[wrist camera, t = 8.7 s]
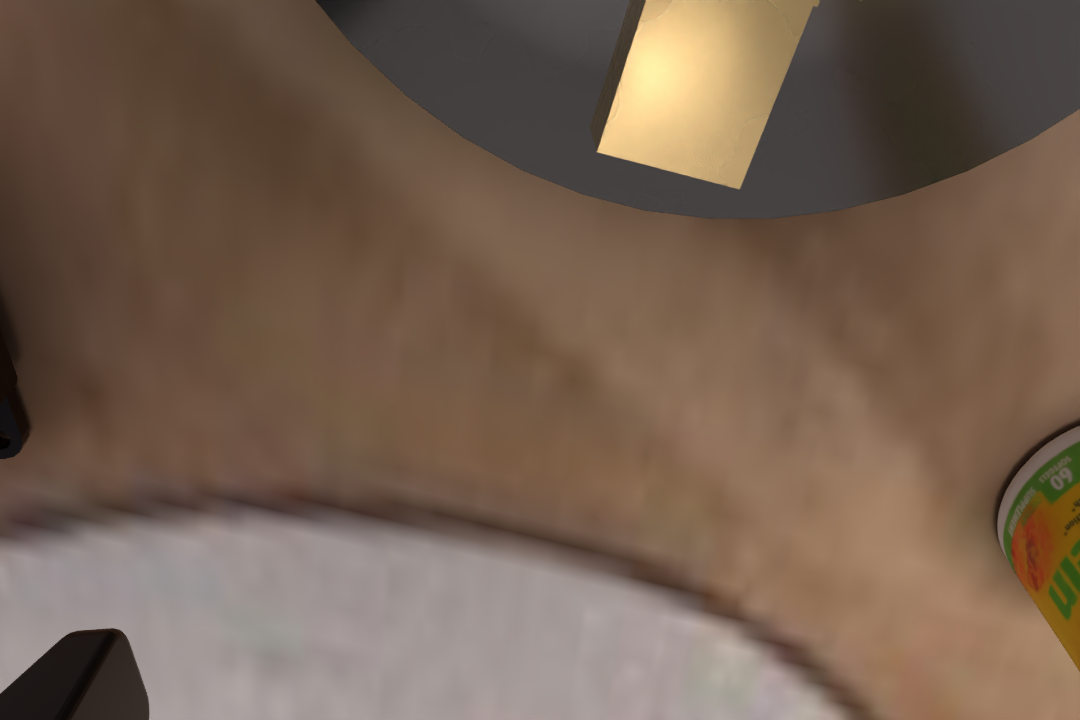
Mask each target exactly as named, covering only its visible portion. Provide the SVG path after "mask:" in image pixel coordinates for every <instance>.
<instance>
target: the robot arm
mask: <svg viewBox="0 0 1080 720" xmlns="http://www.w3.org/2000/svg"><path fill="white" fill-rule="evenodd" d="M16 382H17V375H16V372H15V369H14V367H13V364H12V361H11V358H10V355H9V353H8V350H7V347H6V344H5V341H4V339H3V336H2V333H1V330H0V431H2V432H4V433H6V434H7V435H8V436H9V438H10V439H6V438H2V437H0V459H6V458H10V457H14V456H15V455H16V454H18V453H19V452H20V451H21V449H22V448H23V446H24V445H25V443H26V442H27V440H28V437H29V427H28V424H27V422H26V419H25V416H24V413H23V411H22V408H21V405H20V402H19V400H18V397H17V394H16V391H15V388H14V385H15V384H16ZM0 720H149V701H148V696H147V692H146V689H145V686H144V684H143V681H142V678H141V675H140V672H139V669H138V666H137V663H136V660H135V657H134V655H133V652H132V649H131V646H130V643H129V641H128V639H127V637H126V635H125V634H124V633H123V632H122V631H121V630H118V629H114V628H111V629H97V630H83V631H75V632H72V633H70V634H68V635H66V636H65V637H63V638H62V639H61V640H60V641H58V642H57V643H56V644H55V645H54V646H53V647H52V648H51V649H50V650H48V651H47V652H46V653H45V654H44V655H43V656H42V657H41V658H40V659H38V660H37V661H36V662H35V663H34V664H33V665H32V666H31V667H30V668H28V669H27V670H26V671H25V672H24V673H23V674H22V675H21V676H20V677H18V678H17V679H16V680H15V681H14V682H13V683H12V684H11V685H10V686H8V687H7V688H6V689H5V690H4V691H3V692H2V693H1V694H0Z"/></svg>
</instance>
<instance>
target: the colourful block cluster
mask: <svg viewBox="0 0 1080 720" xmlns="http://www.w3.org/2000/svg"><path fill="white" fill-rule="evenodd" d="M860 1H862V0H860ZM819 2H820V0H630V2H629V5H628V8H627V11H626V15H625V18H624V21H623V24H622V27H621V30H620V34H619V37H618V40H617V43H616V46H615V49H614V53H613V56H612V59H611V62H610V65H609V69H608V72H607V75H606V78H605V81H604V84H603V88H602V91H601V94H600V97H599V100H598V103H597V107H596V110H595V113H594V116H593V119H592V122H591V126H590V130H591V134H592V137H593V140H594V144H595V147H596V151H597V152H598V153H602V154H606V155H610V156H614V157H617V158H621V159H625V160H629V161H633V162H637V163H640V164H644V165H648V166H652V167H656V168H660V169H663V170H667V171H671V172H675V173H679V174H683V175H686V176H690V177H694V178H698V179H702V180H706V181H709V182H713V183H717V184H721V185H725V186H729V187H732V188H736V189H740V187H741V185H742V182H743V180H744V177H745V175H746V172H747V170H748V167H749V165H750V162H751V160H752V157H753V155H754V152H755V150H756V147H757V145H758V142H759V140H760V137H761V135H762V132H763V130H764V127H765V125H766V122H767V120H768V117H769V115H770V112H771V110H772V107H773V105H774V102H775V100H776V97H777V95H778V93H779V90H780V88H781V85H782V83H783V80H784V78H785V75H786V73H787V70H788V68H789V65H790V63H791V60H792V58H793V55H794V53H795V50H796V48H797V45H798V43H799V40H800V38H801V35H802V33H803V30H804V28H805V25H806V23H807V20H808V18H809V15H810V13H811V10H812V8H813V6H816V7H818V4H819Z"/></svg>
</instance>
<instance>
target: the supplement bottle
mask: <svg viewBox="0 0 1080 720" xmlns="http://www.w3.org/2000/svg"><path fill="white" fill-rule="evenodd" d="M997 530H998V538H999V541H1000V545H1001V548H1002V550H1003V553H1004V554H1005V556H1006V558H1007V560H1008V561H1009V563H1010V565H1011V566H1012V568H1013V570H1014V572H1015V573H1016V575H1017V576H1018V578H1019V579H1020V581H1021V582H1022V584H1023V585H1024V587H1025V588H1026V590H1027V591H1028V593H1029V595H1030V596H1031V598H1032V599H1033V601H1034V602H1035V604H1036V605H1037V607H1038V608H1039V610H1040V611H1041V613H1042V615H1043V616H1044V618H1045V619H1046V621H1047V622H1048V624H1049V625H1050V627H1051V628H1052V630H1053V631H1054V633H1055V634H1056V636H1057V638H1058V639H1059V641H1060V642H1061V644H1062V645H1063V647H1064V648H1065V650H1066V651H1067V653H1068V654H1069V656H1070V657H1071V659H1072V660H1073V662H1074V664H1075V665H1076V667H1077V668H1078V670H1079V671H1080V426H1078V427H1075V428H1073V429H1071V430H1069V431H1067V432H1065V433H1063V434H1061V435H1060V436H1058V437H1056V438H1055V439H1053V440H1052V441H1050V442H1049V443H1047V444H1046V445H1045V446H1043V447H1042V448H1041V449H1040V450H1039V451H1037V452H1036V453H1035V454H1034V455H1033V456H1032V457H1031V458H1030V459H1029V460H1028V461H1027V462H1026V463H1025V464H1024V465H1023V467H1022V468H1021V469H1020V470H1019V471H1018V473H1017V474H1016V475H1015V477H1014V478H1013V480H1012V481H1011V483H1010V485H1009V486H1008V488H1007V490H1006V492H1005V494H1004V497H1003V499H1002V502H1001V505H1000V509H999V514H998V523H997Z"/></svg>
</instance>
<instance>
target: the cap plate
mask: <svg viewBox="0 0 1080 720" xmlns="http://www.w3.org/2000/svg"><path fill="white" fill-rule="evenodd" d="M316 1H317V3H318V4H319V5H320V6H321V7H322V9H323V10H324V11H325V12H326V14H327V15H328V16H329V17H330V18H331V20H332V21H333V22H334V23H335V24H336V26H337V27H338V28H339V29H340V30H341V32H342V33H343V34H344V35H345V36H346V38H347V39H348V40H349V41H350V43H351V44H352V45H353V46H354V47H355V48H356V49H357V50H359V51H360V52H361V53H362V54H363V55H364V56H365V57H366V58H367V59H368V60H369V61H370V62H371V63H372V64H373V65H374V66H375V67H376V68H378V69H379V70H380V71H381V72H382V73H383V74H384V75H385V76H386V77H387V78H388V79H389V80H390V81H391V82H392V83H393V84H394V85H395V86H397V87H398V88H399V89H400V90H401V91H402V92H403V93H404V94H405V95H406V96H407V97H409V98H410V99H412V100H413V101H414V102H416V103H417V104H418V105H420V106H421V107H422V108H424V109H425V110H426V111H428V112H429V113H431V114H432V115H433V116H435V117H436V118H437V119H439V120H440V121H441V122H443V123H444V124H445V125H447V126H448V127H450V128H451V129H452V130H454V131H455V132H456V133H458V134H459V135H460V136H462V137H463V138H465V139H467V140H469V141H470V142H472V143H474V144H476V145H478V146H479V147H481V148H483V149H485V150H487V151H488V152H490V153H492V154H494V155H496V156H497V157H499V158H501V159H503V160H505V161H506V162H508V163H510V164H512V165H514V166H515V167H517V168H519V169H521V170H523V171H525V172H528V173H530V174H533V175H535V176H538V177H540V178H543V179H545V180H548V181H550V182H553V183H555V184H558V185H560V186H563V187H566V188H568V189H571V190H573V191H576V192H578V193H581V194H583V195H587V196H591V197H595V198H599V199H603V200H606V201H610V202H614V203H618V204H622V205H626V206H630V207H634V208H638V209H642V210H645V211H653V212H661V213H669V214H677V215H686V216H694V217H702V218H780V217H789V216H797V215H805V214H813V213H821V212H829V211H837V210H842V209H846V208H850V207H854V206H858V205H862V204H866V203H870V202H874V201H879V200H883V199H887V198H891V197H895V196H899V195H903V194H906V193H909V192H911V191H914V190H917V189H919V188H922V187H925V186H928V185H930V184H933V183H936V182H938V181H941V180H944V179H947V178H949V177H952V176H955V175H957V174H960V173H963V172H966V171H968V170H970V169H972V168H974V167H976V166H978V165H980V164H982V163H984V162H986V161H988V160H990V159H992V158H994V157H996V156H998V155H1000V154H1002V153H1004V152H1006V151H1008V150H1011V149H1013V148H1015V147H1017V146H1019V145H1021V144H1023V143H1025V142H1027V141H1029V140H1031V139H1033V138H1034V137H1036V136H1037V135H1039V134H1040V133H1042V132H1044V131H1045V130H1047V129H1048V128H1050V127H1052V126H1053V125H1055V124H1056V123H1058V122H1059V121H1061V120H1063V119H1064V118H1066V117H1067V116H1069V115H1071V114H1072V113H1074V112H1075V111H1077V110H1078V109H1080V0H862V1H860V0H820V2H819V4H818V7H816V6H813V8H812V10H811V13H810V15H809V18H808V20H807V23H806V25H805V28H804V30H803V33H802V35H801V38H800V40H799V43H798V45H797V48H796V50H795V53H794V55H793V58H792V60H791V63H790V65H789V68H788V70H787V73H786V75H785V78H784V80H783V83H782V85H781V88H780V90H779V93H778V95H777V97H776V100H775V102H774V105H773V107H772V110H771V112H770V115H769V117H768V120H767V122H766V125H765V127H764V130H763V132H762V135H761V137H760V140H759V142H758V145H757V147H756V150H755V152H754V155H753V157H752V160H751V162H750V165H749V167H748V170H747V172H746V175H745V177H744V180H743V182H742V185H741V187H740V189H736V188H732V187H729V186H725V185H721V184H717V183H713V182H709V181H706V180H702V179H698V178H694V177H690V176H686V175H683V174H679V173H675V172H671V171H667V170H663V169H660V168H656V167H652V166H648V165H644V164H640V163H637V162H633V161H629V160H625V159H621V158H617V157H614V156H610V155H606V154H602V153H598V152H597V151H596V147H595V144H594V140H593V137H592V134H591V130H590V126H591V122H592V119H593V116H594V113H595V110H596V107H597V103H598V100H599V97H600V94H601V91H602V88H603V84H604V81H605V78H606V75H607V72H608V69H609V65H610V62H611V59H612V56H613V53H614V49H615V46H616V43H617V40H618V37H619V34H620V30H621V27H622V24H623V21H624V18H625V15H626V11H627V8H628V5H629V2H630V0H316Z"/></svg>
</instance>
